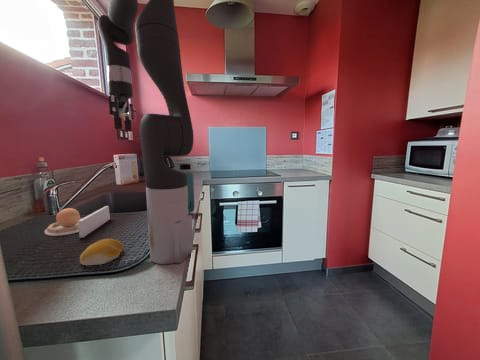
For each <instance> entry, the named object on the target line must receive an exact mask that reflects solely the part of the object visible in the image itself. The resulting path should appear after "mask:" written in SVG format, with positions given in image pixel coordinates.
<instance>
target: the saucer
mask: <svg viewBox="0 0 480 360" xmlns="http://www.w3.org/2000/svg"><path fill="white" fill-rule="evenodd" d="M83 218H84V217H80V220H81V219H83ZM77 233H79V228H78V223H77V224H75V225H74V226H71V227H63V226H60V225H59V224H58V223H57V221H56V222H54V223H51V224H49V225H48V226H47V227H46V229H45V230H44V234H45V235H47V236H49V237H50V236H51V237H58V236H68V235H72V234H77Z"/></svg>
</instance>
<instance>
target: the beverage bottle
mask: <svg viewBox="0 0 480 360" xmlns="http://www.w3.org/2000/svg"><path fill="white" fill-rule="evenodd" d="M191 169H192V167H191V163H180V164H179V171H183V172H184V173H185V174H186V175H187V186H188V214H190V213H193V212H194V211H195V188H194V187H195V186H194V185H195V184H194V183H195V182H194V180H195V179H194V174H193V173H191V171H190V172H188V171H187V170H191Z"/></svg>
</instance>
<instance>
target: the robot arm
mask: <svg viewBox="0 0 480 360" xmlns="http://www.w3.org/2000/svg"><path fill="white" fill-rule="evenodd" d="M175 9H176V8H175V1H174V0H148V2H147V3H146V4H145V5H144V7H142V9H141V11H140V12H139V14H138V11H139V2H138V0H109V2H108V8H107V14H102V15H100V16H98V18H97V29H98V33H99V36H100V38H101V41H102V44H103V47H104V50H105V55H106V65H107V71H106V72H107V73H106V76H107V77H106V78H107V86H108V87H107V88H108V108H109V110H108V111H109V115H111V116H112V118H113V124H114V125H113V126H114V129H115V130H123V121H122V118H123V120H124V131H126V132H132V130H133V124H132V121H133V120H134V119H135V117H134V106H133V105H134V104H133V103H131V102H130V101H129V99H132V98H133V97H134V91H133V76H132V71H131V70H132V69H131V57H130V54H129V53H128V51H126V50H124V49H122V48H121V47H119V46H117V45H116V44H119V45H124V46H131V45H132V44H133V42H134V40H136V41H135V42H136V50H137V55H138V59H139V61H140V64H141V65H142V67H143V69H144V70H145V72H146V73H147V75H148V76H149V77H150V79H151V80H152V82H153V83H154V85H156V86H155V87H157V88H158V90H159V92H160V93H161V95H162V96H163V99H164V101H165V105H166V107H167V108H166V109H167V111H168V114H160V113H146V114H144V115H143V116H142V118H141V120H140V124H139V138H140V139H139V140H140V149H141V154H142V165H143V166H142V167H143V173H144V180H145V194H146V214H147V228H148V242H149V245H148V246H149V257H150V261H151V262H152V263H156V264H158V265H159V264H160V265H169V264H174V263H176V264H181V263H182V262H183V261H185V260H186V258H187V257H188V256H190V255H191V253H192V252H194V249H193V248H194V244H193V243H194V241H193V238H194V236H193V217H192V215H191V214H189V213H188V186H187V175H186V174H185V173H184V172H185V171H182V170H177V169H174V168H172V167H170V166H168V165H167V164H166V163H165V158H164V157H183V156H185V157H186V156H188V155H189V154H190V153H191V152H192V150H193V147H194V129H193V123H192V118H191V113H190V109H189V108H190V107H189V105H188V99H187V95H186V89H185V83H184V76H183V67H182V58H181V48H180V38H179V32H178V26H177V17H176V11H175ZM137 15H138V16H137ZM134 22H135V25H134ZM134 33H135V36H134Z"/></svg>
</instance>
